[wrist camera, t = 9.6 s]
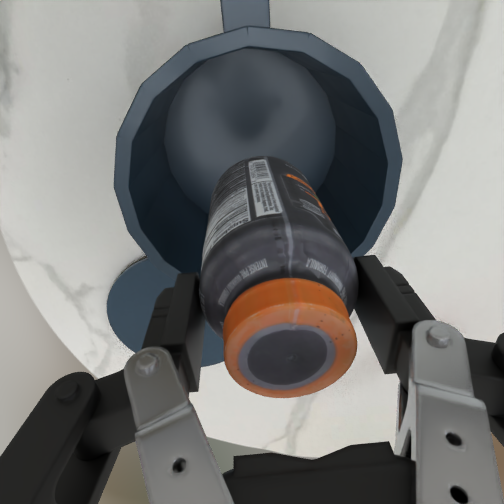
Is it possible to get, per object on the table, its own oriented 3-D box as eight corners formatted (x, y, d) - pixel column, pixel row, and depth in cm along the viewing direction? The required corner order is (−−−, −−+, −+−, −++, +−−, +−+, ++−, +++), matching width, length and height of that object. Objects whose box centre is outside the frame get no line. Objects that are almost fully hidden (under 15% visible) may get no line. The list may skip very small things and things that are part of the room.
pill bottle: (324, 226, 20) (408, 389, 10) (236, 260, 21) (240, 438, 11) (292, 134, 17) (369, 245, 7) (191, 179, 18) (146, 328, 8)
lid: (133, 366, 47) (118, 414, 41) (87, 257, 37) (58, 298, 31) (264, 354, 47) (268, 400, 41) (254, 241, 37) (258, 279, 31)
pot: (182, 256, 38) (162, 338, 27) (124, 5, 25) (44, -26, 15) (336, 242, 37) (376, 318, 27) (353, -17, 25) (440, -64, 15)
